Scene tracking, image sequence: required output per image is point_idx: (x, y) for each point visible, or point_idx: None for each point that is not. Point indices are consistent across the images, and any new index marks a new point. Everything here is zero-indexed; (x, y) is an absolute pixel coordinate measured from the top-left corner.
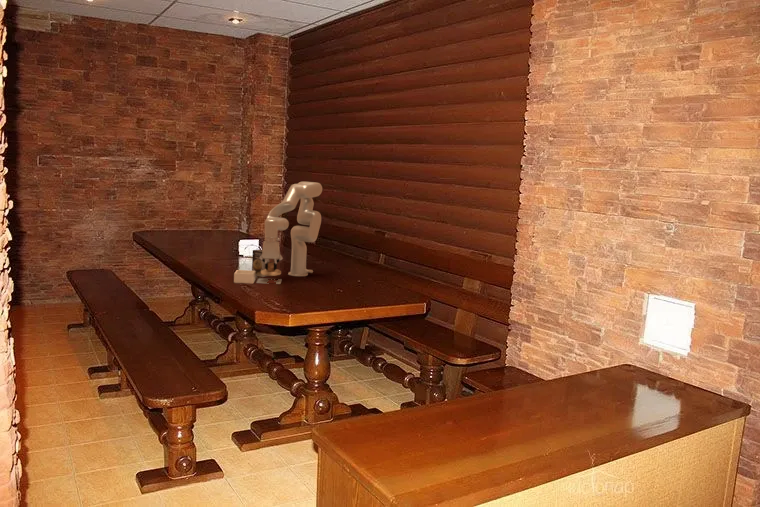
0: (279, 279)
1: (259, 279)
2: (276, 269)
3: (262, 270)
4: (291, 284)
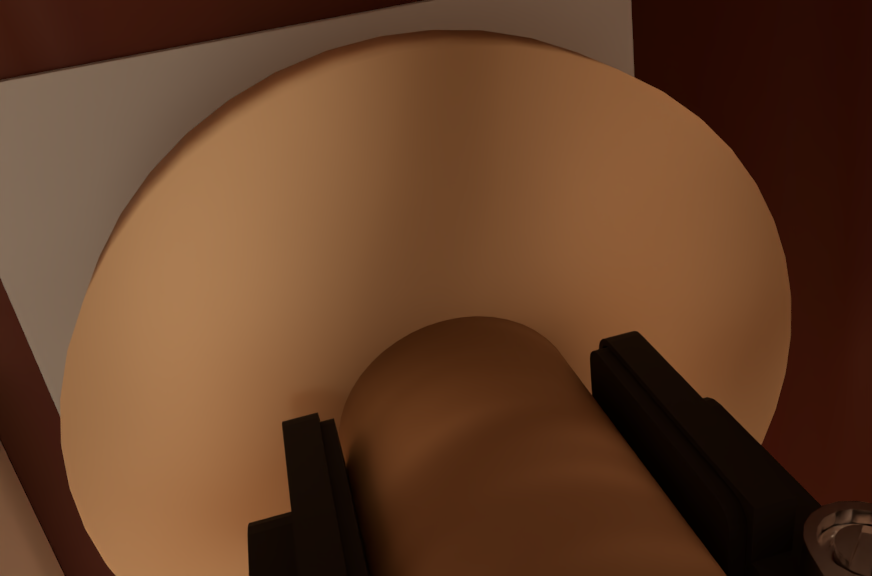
0: (571, 19)
1: (41, 262)
2: (618, 104)
3: (114, 445)
4: (841, 369)
